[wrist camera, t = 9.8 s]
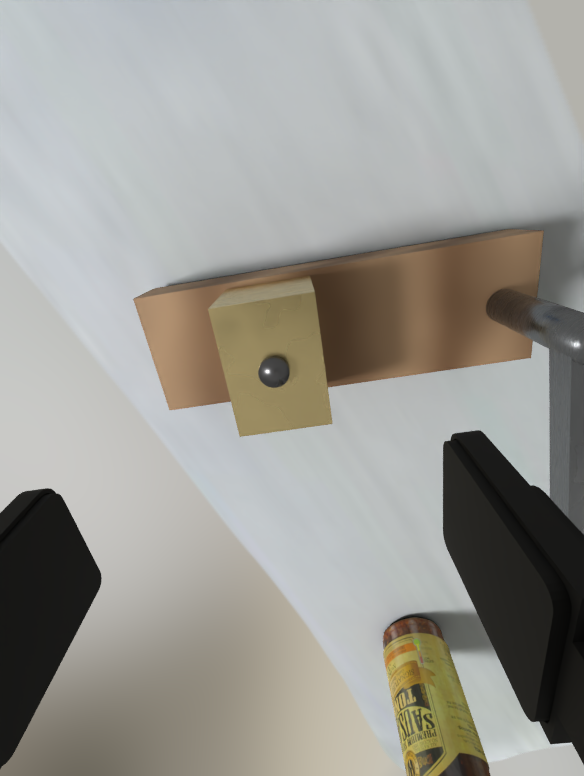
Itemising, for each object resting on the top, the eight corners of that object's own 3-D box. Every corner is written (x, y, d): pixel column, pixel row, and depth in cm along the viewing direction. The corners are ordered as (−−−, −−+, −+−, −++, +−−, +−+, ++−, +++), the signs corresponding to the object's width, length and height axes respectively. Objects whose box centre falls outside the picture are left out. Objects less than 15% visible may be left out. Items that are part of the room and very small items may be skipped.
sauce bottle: (394, 607, 37) (491, 979, 19) (452, 620, 38) (599, 989, 20) (369, 648, 40) (434, 1010, 22) (423, 659, 40) (531, 1018, 22)
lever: (479, 295, 21) (575, 334, 14) (524, 283, 20) (646, 317, 13) (496, 517, 27) (568, 622, 20) (531, 510, 27) (616, 614, 20)
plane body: (510, 227, 23) (551, 229, 20) (503, 337, 26) (537, 356, 22) (150, 288, 25) (126, 300, 21) (180, 385, 28) (163, 411, 24)
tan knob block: (309, 275, 21) (315, 293, 16) (324, 383, 23) (333, 427, 18) (226, 289, 21) (205, 311, 16) (250, 394, 23) (238, 441, 18)
